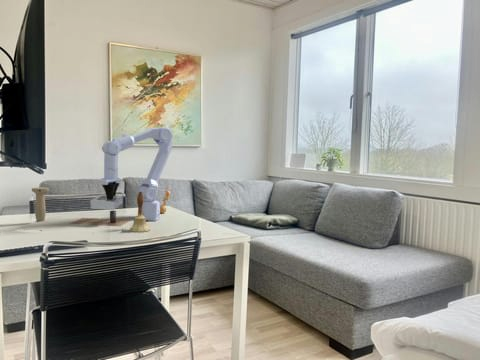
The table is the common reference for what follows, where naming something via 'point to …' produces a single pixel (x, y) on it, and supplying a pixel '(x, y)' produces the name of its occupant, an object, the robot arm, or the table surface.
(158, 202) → the robot arm
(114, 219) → the brown board
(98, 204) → the grey square frame
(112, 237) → the table surface
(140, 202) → the hand bell
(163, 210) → the figurine
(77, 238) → the table surface
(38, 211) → the handle
